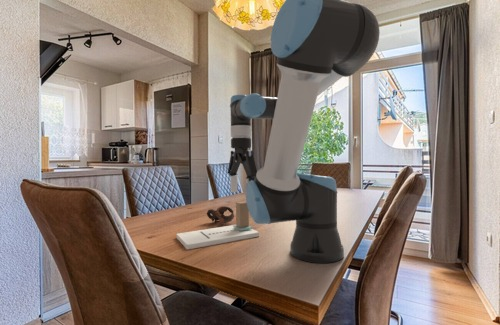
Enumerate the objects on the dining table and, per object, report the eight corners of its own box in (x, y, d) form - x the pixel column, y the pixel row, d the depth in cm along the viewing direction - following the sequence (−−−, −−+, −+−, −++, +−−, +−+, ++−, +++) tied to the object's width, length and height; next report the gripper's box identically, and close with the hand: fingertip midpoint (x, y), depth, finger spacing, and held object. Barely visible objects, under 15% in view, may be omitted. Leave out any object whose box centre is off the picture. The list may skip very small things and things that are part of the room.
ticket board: (259, 236, 95) (258, 231, 95) (187, 249, 83) (187, 244, 83) (241, 227, 107) (241, 223, 107) (176, 237, 95) (176, 233, 95)
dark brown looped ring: (232, 220, 121) (236, 206, 117) (229, 235, 113) (233, 220, 109) (207, 214, 121) (210, 200, 117) (202, 228, 112) (205, 214, 108)
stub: (252, 228, 98) (251, 203, 98) (240, 230, 96) (239, 204, 96) (244, 225, 103) (244, 200, 103) (233, 227, 101) (232, 201, 101)
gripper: (267, 135, 90) (267, 198, 91) (235, 139, 112) (236, 189, 112) (247, 135, 86) (248, 200, 87) (219, 139, 108) (219, 191, 109)
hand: (241, 194), depth 100 cm, fingers open, 13 cm apart
